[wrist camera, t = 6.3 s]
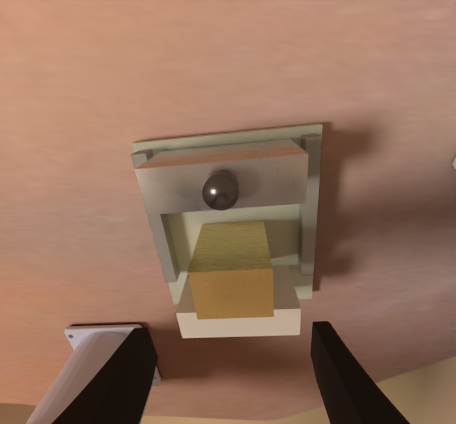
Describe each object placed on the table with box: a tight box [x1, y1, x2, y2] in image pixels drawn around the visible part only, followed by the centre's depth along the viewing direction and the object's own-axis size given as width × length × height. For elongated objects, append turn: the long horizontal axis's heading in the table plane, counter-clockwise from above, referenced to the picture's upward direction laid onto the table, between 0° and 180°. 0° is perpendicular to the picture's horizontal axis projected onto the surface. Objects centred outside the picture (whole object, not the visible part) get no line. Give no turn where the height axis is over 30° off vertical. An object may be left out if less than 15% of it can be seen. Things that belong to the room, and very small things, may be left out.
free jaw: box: [135, 139, 308, 215], centre depth 13 cm, size 2×8×5 cm, turn 96°
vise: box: [131, 123, 323, 338], centre depth 16 cm, size 14×12×5 cm
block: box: [187, 220, 274, 320], centre depth 16 cm, size 4×4×6 cm
